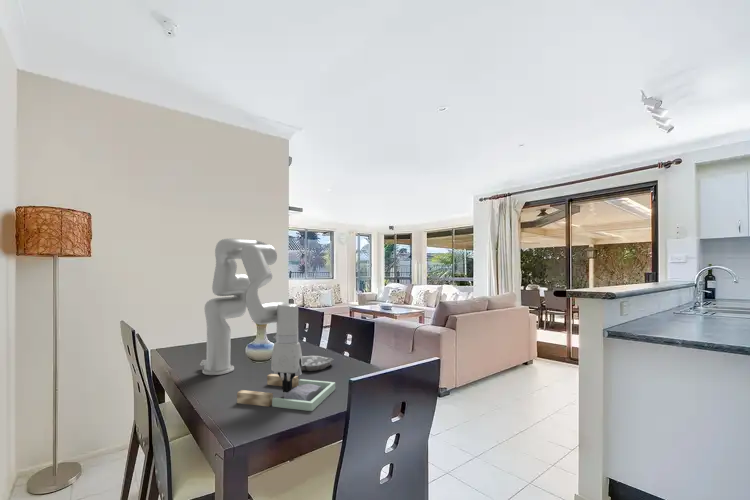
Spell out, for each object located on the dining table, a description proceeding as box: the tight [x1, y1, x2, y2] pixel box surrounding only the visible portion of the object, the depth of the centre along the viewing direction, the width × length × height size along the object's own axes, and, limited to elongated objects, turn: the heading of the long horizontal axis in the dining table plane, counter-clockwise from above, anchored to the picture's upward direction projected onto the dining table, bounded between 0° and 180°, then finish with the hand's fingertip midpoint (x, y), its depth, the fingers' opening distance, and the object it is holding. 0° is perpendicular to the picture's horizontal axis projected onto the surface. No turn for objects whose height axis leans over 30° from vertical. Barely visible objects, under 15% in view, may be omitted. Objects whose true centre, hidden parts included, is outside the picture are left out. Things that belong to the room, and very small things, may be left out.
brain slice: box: [301, 355, 335, 372], centre depth 162 cm, size 20×17×3 cm
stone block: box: [283, 384, 323, 401], centre depth 125 cm, size 12×5×10 cm
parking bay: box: [271, 378, 336, 412], centre depth 126 cm, size 14×20×2 cm
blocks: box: [236, 373, 300, 407], centre depth 129 cm, size 12×21×4 cm, turn 165°
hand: (287, 391), depth 127 cm, fingers closed
